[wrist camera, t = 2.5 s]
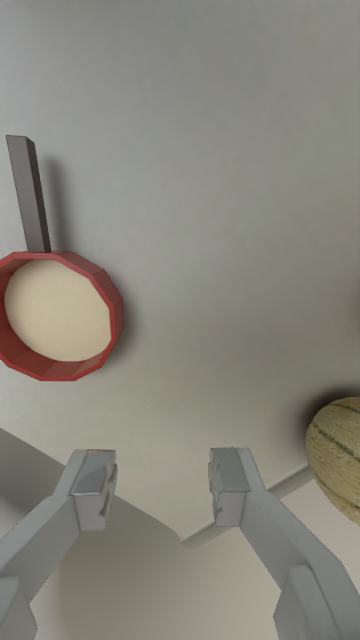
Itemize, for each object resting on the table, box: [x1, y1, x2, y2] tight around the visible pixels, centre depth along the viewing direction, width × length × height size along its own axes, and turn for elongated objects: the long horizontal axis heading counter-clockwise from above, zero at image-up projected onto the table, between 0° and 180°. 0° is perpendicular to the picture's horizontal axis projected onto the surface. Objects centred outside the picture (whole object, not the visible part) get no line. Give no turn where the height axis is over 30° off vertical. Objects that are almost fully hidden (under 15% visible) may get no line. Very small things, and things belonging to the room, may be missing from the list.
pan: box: [0, 135, 124, 381], centre depth 23 cm, size 23×14×4 cm, turn 178°
